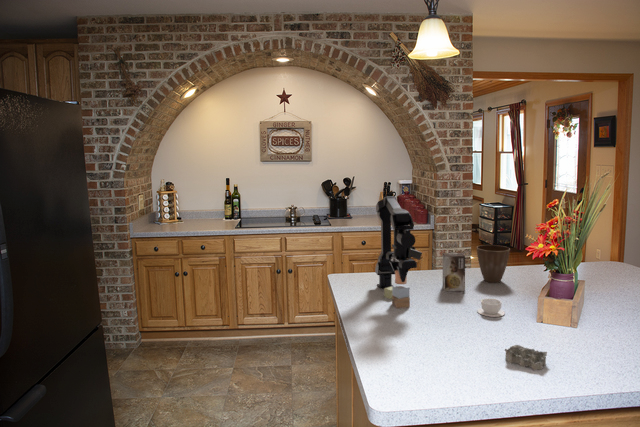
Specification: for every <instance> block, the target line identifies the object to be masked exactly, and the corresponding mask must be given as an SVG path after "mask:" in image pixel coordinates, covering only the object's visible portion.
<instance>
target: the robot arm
mask: <svg viewBox="0 0 640 427" xmlns="http://www.w3.org/2000/svg"><path fill="white" fill-rule="evenodd" d="M375 210H376V211H375V212H376V215H377V218H378V219H379V220H380V238H381V241H380V247H381V248H380V250H381V251H380V254H379V256H378V257H377V262H376V265H375V268H374V269H375V273H376V275H377V276H378V278H379V279H378V281H379V282H378V283H377V284H376V286H377V287H378V288H379V289H381V290H382V289H384V288H387V287H392V286H394V285H393V284H392V283H393V279H392V277H393V276H392V275H395V270H398V272H399V275H400V278H401V281H402V282H405V279H406V276H407V275H408V272H409V270H411V269H416V268H418V262H417V261H416V260H415V259H417V260H418V261H420V260H421V258H422V254H423V252H421V251H420V250H417V249H416V247H415V246H414V245H415V244H416V237H415V235H414V234H413V233H411V231H413V230H415V229H414V226H415V223H414V220H413V217H412V215H411V214H410V211H408V210H407V209H405V208H402V206H400V204H399V202H398V201H397V197H396V196H394V195H393V196H384V197H383V199H381V200H378V201H377V203H376V205H375ZM392 230H393V244H392ZM392 248H393V251H392ZM412 258H413V259H412Z"/></svg>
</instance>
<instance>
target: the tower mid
mask: <svg viewBox="0 0 640 427" xmlns="http://www.w3.org/2000/svg"><path fill="white" fill-rule="evenodd" d="M392 295H393V296H395V297H397V298H398V299H400V298H406V297H410V286H407V285H406V284H396V285H393V286H392Z"/></svg>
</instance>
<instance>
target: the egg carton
mask: <svg viewBox="0 0 640 427" xmlns="http://www.w3.org/2000/svg"><path fill="white" fill-rule="evenodd" d="M504 351H505V359H504V360H505V361H507V363H509V364H519V366H520V367H530V368H531V369H532V370H535V371H536V370H542V369H543V366H546V360H547V355H548V351H539V350H535V348H528V347H524V346H521V345H519V344H514V345H511V346H510V347H509V348H508V349H507V348H505V349H504Z"/></svg>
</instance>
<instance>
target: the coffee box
mask: <svg viewBox="0 0 640 427" xmlns="http://www.w3.org/2000/svg"><path fill="white" fill-rule="evenodd" d="M442 289H443V291H444V292H465V291H466V255H465V254H464V253H463V252H443V253H442Z"/></svg>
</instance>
